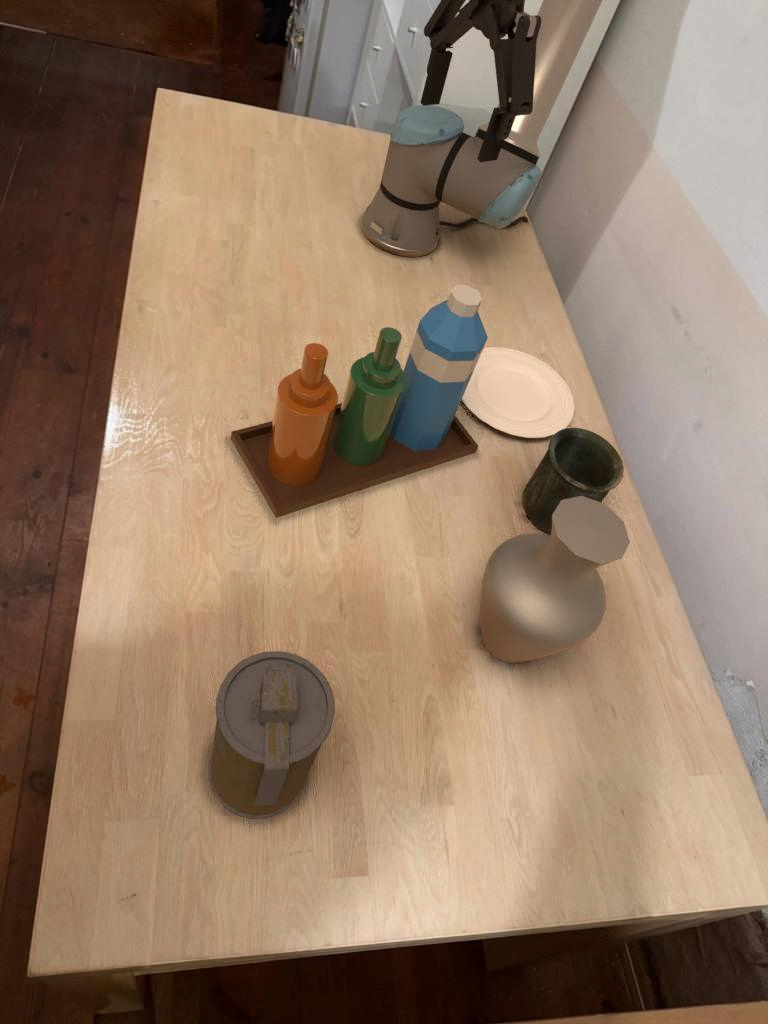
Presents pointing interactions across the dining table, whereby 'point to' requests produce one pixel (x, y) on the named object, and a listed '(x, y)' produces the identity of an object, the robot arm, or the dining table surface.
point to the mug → (571, 474)
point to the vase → (550, 583)
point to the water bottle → (439, 369)
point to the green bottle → (370, 402)
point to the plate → (518, 394)
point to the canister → (268, 732)
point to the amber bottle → (302, 420)
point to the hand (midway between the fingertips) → (457, 131)
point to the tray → (342, 466)
